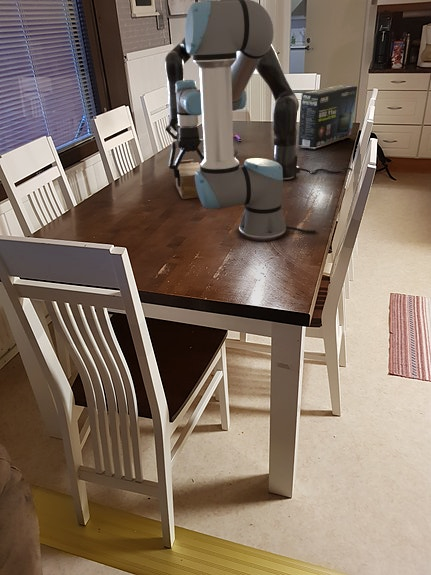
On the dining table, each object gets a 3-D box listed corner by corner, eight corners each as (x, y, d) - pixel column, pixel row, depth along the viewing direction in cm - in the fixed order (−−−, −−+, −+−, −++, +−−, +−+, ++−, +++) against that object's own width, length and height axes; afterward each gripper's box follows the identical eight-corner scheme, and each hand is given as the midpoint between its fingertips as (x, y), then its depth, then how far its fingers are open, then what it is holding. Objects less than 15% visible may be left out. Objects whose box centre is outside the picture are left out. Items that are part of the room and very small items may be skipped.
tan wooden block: (176, 186, 192) (174, 164, 188) (199, 183, 194) (198, 162, 189) (182, 199, 179) (180, 176, 174) (207, 196, 181) (206, 173, 176)
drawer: (172, 174, 203) (171, 158, 200) (191, 172, 205) (190, 156, 201) (179, 189, 186) (178, 171, 183) (200, 186, 188) (200, 169, 184)
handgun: (221, 135, 268) (221, 132, 267) (234, 134, 269) (234, 130, 268) (228, 143, 251) (228, 140, 250) (242, 142, 252) (242, 138, 251)
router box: (314, 151, 231) (318, 94, 217) (296, 148, 237) (299, 92, 224) (352, 138, 251) (358, 85, 238) (335, 135, 258) (340, 83, 245)
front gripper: (215, 121, 175) (217, 178, 187) (157, 126, 171) (162, 184, 183) (220, 125, 169) (222, 183, 180) (159, 130, 165) (165, 190, 176)
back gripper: (192, 103, 192) (194, 145, 201) (160, 105, 189) (164, 148, 198) (195, 105, 185) (198, 149, 194) (163, 108, 183) (167, 152, 192)
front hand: (192, 184), depth 181 cm, fingers closed on tan wooden block, 10 cm apart
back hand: (181, 148), depth 196 cm, fingers closed
